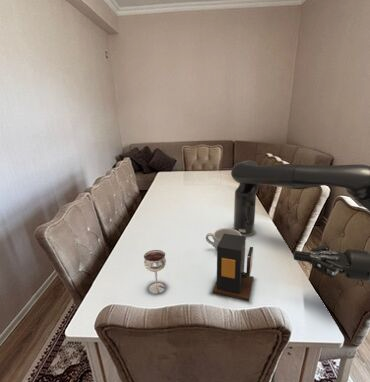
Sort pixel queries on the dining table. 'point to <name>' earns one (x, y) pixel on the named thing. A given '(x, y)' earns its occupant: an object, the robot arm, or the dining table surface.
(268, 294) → the dining table surface
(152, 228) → the dining table surface
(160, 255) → the wineglass
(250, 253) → the push plate
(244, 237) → the dispenser
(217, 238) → the teacup
